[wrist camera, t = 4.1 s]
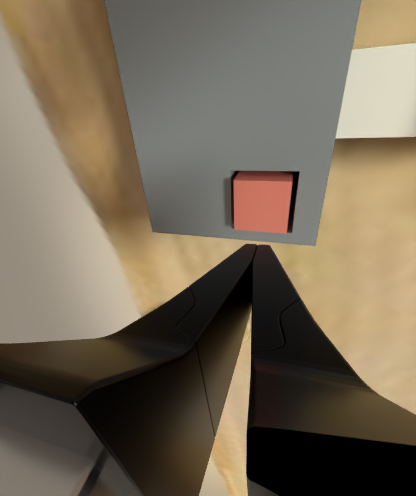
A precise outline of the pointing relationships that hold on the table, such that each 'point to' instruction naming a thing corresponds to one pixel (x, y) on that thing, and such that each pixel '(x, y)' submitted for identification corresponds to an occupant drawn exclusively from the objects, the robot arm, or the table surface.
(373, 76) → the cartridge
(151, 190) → the housing
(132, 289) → the table surface
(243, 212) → the plunger
